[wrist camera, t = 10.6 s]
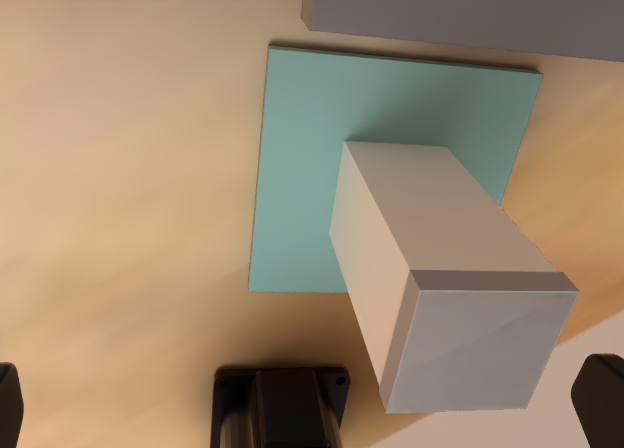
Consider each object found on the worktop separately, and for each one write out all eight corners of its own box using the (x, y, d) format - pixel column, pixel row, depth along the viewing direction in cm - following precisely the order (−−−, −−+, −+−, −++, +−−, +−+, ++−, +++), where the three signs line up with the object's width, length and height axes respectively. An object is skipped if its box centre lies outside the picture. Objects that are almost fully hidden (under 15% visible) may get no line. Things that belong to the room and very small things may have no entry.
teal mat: (465, 286, 26) (470, 293, 25) (247, 284, 24) (248, 291, 23) (536, 70, 21) (543, 74, 20) (268, 45, 19) (269, 48, 18)
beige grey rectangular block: (423, 237, 23) (526, 408, 15) (327, 234, 22) (385, 413, 15) (447, 145, 21) (579, 291, 13) (342, 139, 20) (419, 290, 13)
